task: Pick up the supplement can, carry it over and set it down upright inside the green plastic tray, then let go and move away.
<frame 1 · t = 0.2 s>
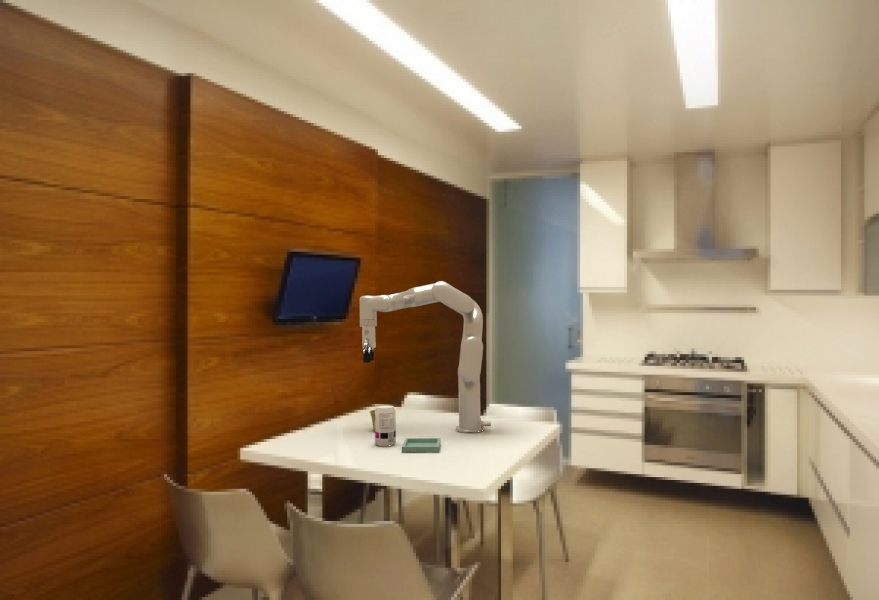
hand: (368, 361, 242), 31 cm above the table, tool pointing down, fingers open, 9 cm apart
supplement can: (385, 444, 216), on the table
tray: (421, 448, 209), on the table
plant pot: (380, 431, 241), on the table
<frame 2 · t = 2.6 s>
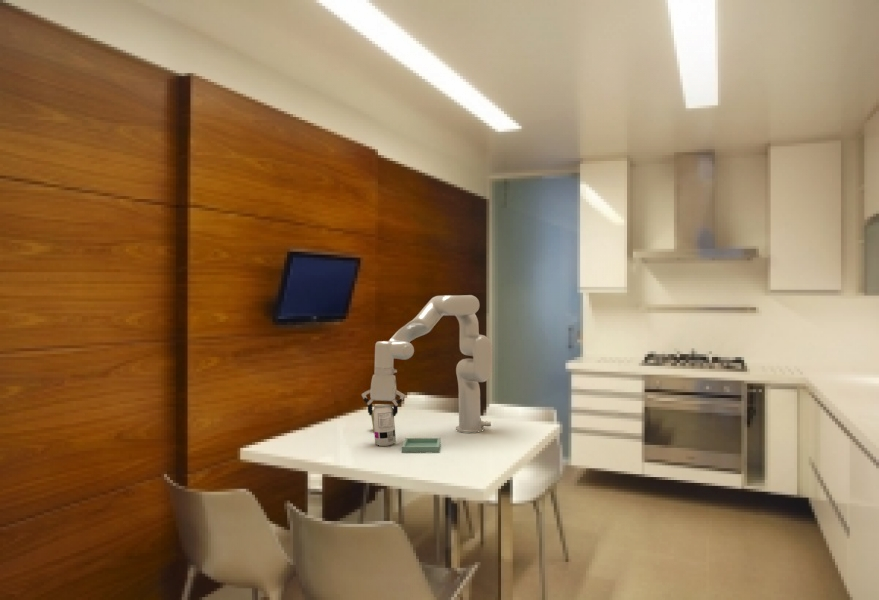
hand: (382, 415, 216), 12 cm above the table, tool pointing down, fingers open, 9 cm apart
nothing on the table moved.
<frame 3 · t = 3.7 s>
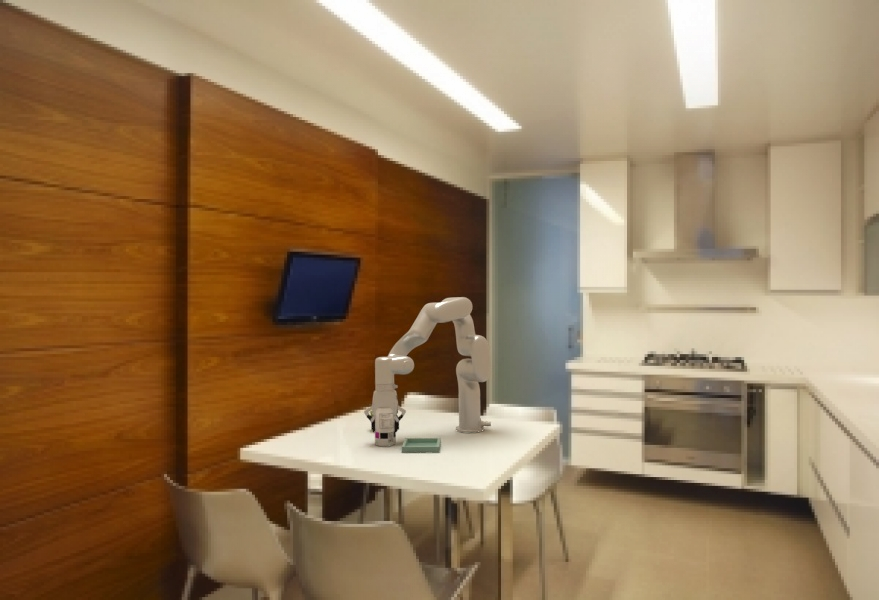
hand: (385, 431, 216), 5 cm above the table, tool pointing down, fingers closed on supplement can, 8 cm apart
supplement can: (385, 444, 216), on the table, touching gripper
everything else where it was.
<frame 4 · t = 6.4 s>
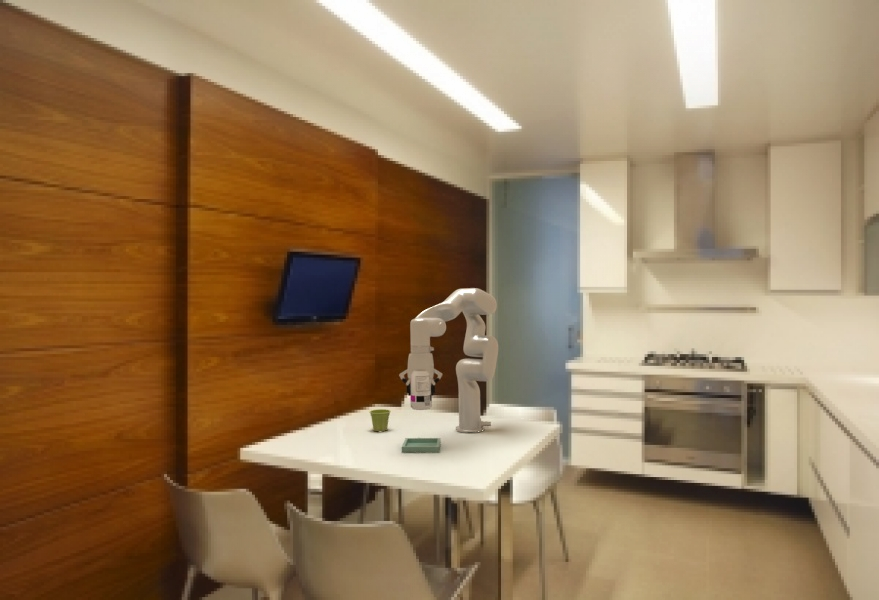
hand: (421, 394, 210), 21 cm above the table, tool pointing down, fingers closed on supplement can, 8 cm apart
supplement can: (421, 408, 210), point 15 cm above the table, touching gripper
everything else where it was.
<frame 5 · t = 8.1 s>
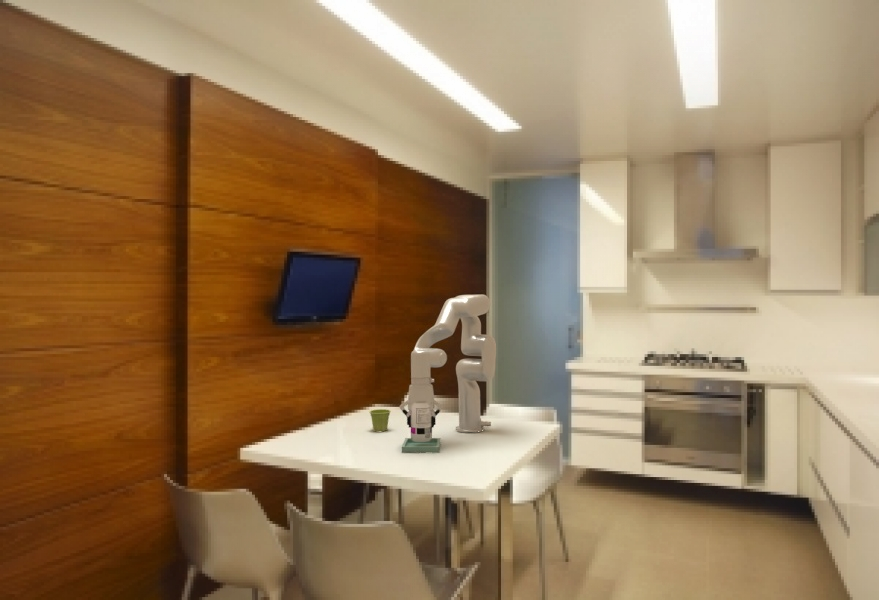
hand: (421, 426, 210), 8 cm above the table, tool pointing down, fingers closed on supplement can, 8 cm apart
supplement can: (421, 440, 209), point 3 cm above the table, touching gripper
everything else where it was.
when the fingers open (7 cm above the table, at t = 9.4 s): supplement can drops 1 cm, resting on tray.
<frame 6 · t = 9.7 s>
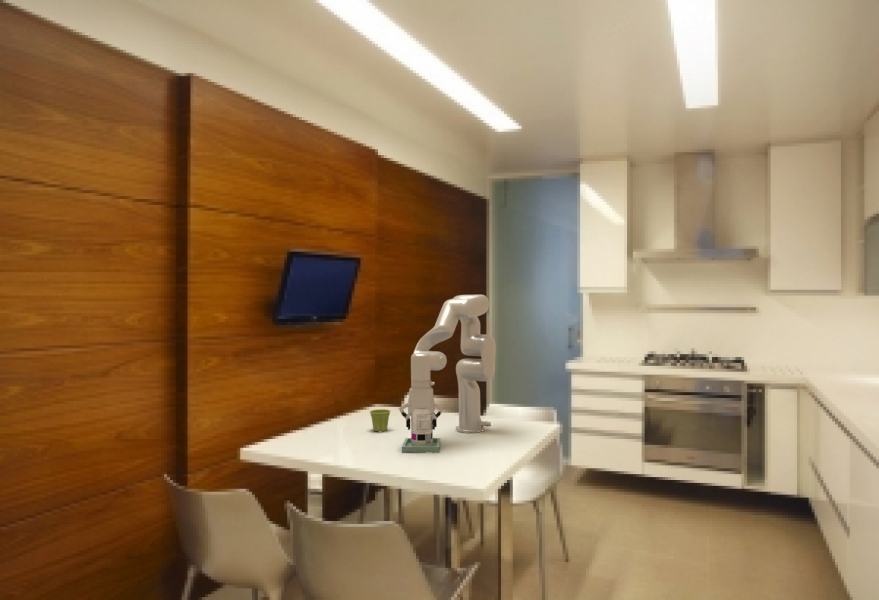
hand: (421, 429, 210), 7 cm above the table, tool pointing down, fingers open, 9 cm apart
supplement can: (422, 446, 210), resting on tray
everything else where it was.
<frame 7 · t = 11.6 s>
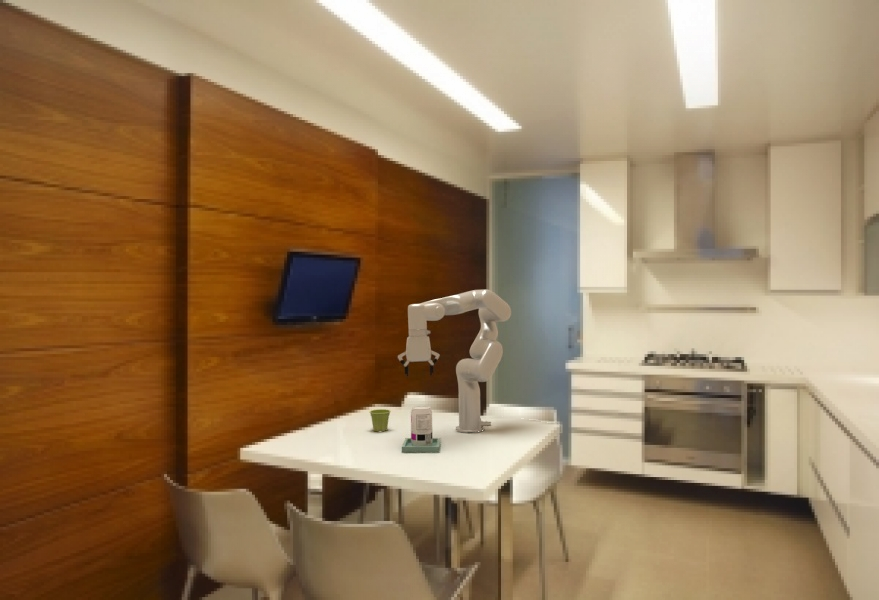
hand: (419, 375, 222), 27 cm above the table, tool pointing down, fingers open, 9 cm apart
nothing on the table moved.
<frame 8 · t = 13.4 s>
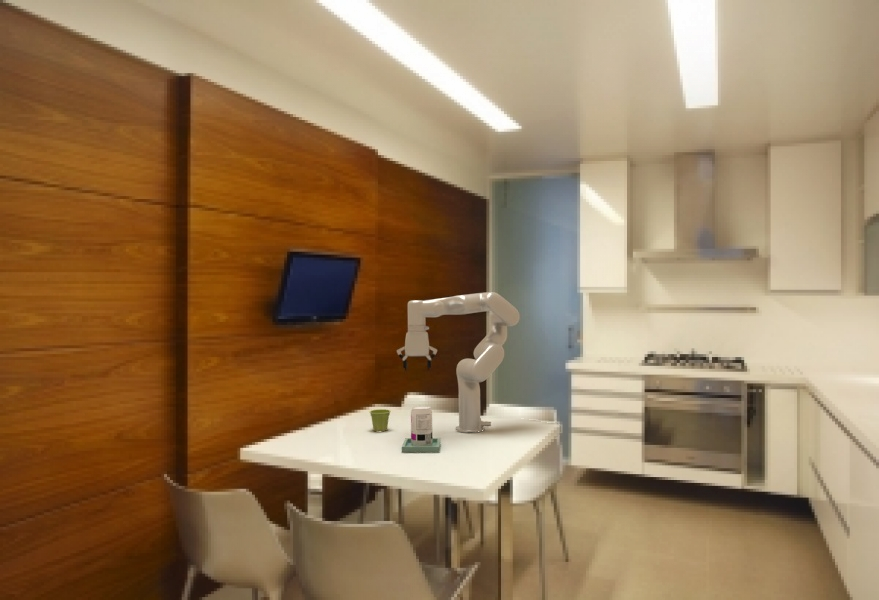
hand: (417, 369, 229), 28 cm above the table, tool pointing down, fingers open, 9 cm apart
nothing on the table moved.
at the end: supplement can inside the target area on the tray (0.1 cm from its centre), point 0.4 cm above the tray's base; supplement can tilted 0°; the gripper is holding nothing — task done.
